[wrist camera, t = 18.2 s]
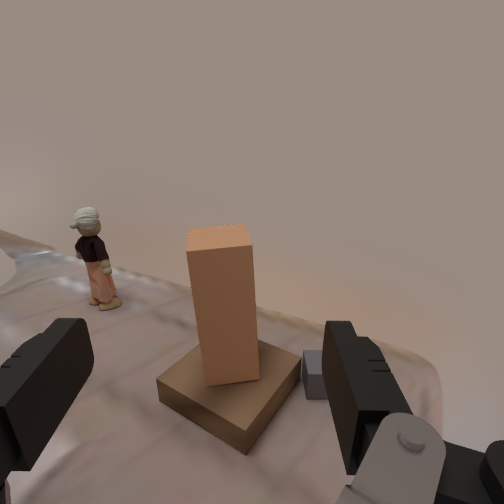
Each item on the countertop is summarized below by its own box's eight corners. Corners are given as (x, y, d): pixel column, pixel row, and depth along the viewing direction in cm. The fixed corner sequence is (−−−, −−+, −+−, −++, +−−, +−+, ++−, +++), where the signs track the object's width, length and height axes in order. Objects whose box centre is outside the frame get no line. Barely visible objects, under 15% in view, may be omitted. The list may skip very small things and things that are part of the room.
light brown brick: (205, 386, 27) (186, 251, 22) (205, 350, 31) (189, 228, 26) (259, 379, 27) (252, 245, 22) (252, 344, 31) (245, 223, 26)
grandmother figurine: (135, 301, 44) (120, 207, 39) (112, 316, 41) (92, 216, 36) (96, 288, 47) (77, 200, 42) (71, 300, 44) (48, 207, 39)
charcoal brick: (301, 375, 32) (303, 350, 30) (364, 375, 32) (368, 349, 30) (306, 401, 29) (308, 374, 28) (375, 400, 29) (380, 373, 28)
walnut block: (160, 405, 29) (156, 378, 28) (223, 348, 36) (222, 325, 35) (245, 460, 24) (245, 430, 23) (299, 382, 31) (301, 357, 30)
